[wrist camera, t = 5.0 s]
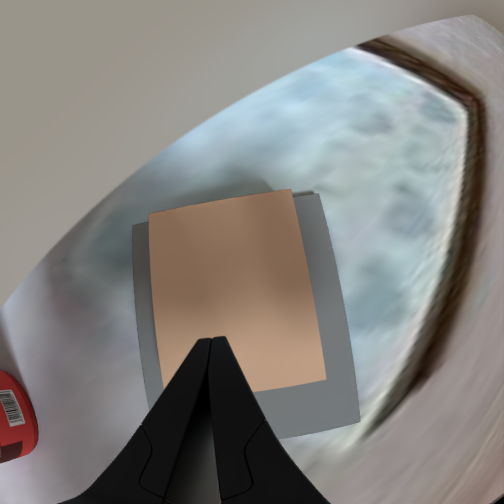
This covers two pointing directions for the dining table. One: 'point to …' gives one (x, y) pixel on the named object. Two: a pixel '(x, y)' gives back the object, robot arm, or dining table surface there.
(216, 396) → the robot arm
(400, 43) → the dining table surface
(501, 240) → the dining table surface
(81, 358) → the dining table surface
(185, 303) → the tile
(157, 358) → the mat
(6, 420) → the canned food
